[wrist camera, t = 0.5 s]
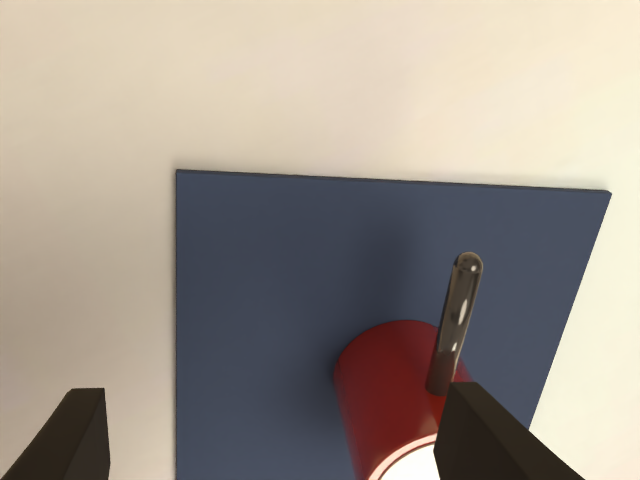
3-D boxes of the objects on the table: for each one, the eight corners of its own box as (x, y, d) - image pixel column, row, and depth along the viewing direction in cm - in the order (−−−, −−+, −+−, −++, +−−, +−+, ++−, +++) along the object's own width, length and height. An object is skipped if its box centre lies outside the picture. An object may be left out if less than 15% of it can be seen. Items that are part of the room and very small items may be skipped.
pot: (444, 418, 27) (497, 541, 22) (325, 421, 26) (351, 549, 21) (502, 202, 22) (588, 291, 17) (359, 196, 21) (403, 288, 16)
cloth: (500, 498, 31) (502, 503, 31) (177, 513, 28) (176, 518, 28) (608, 190, 23) (612, 193, 23) (176, 168, 20) (176, 172, 20)
